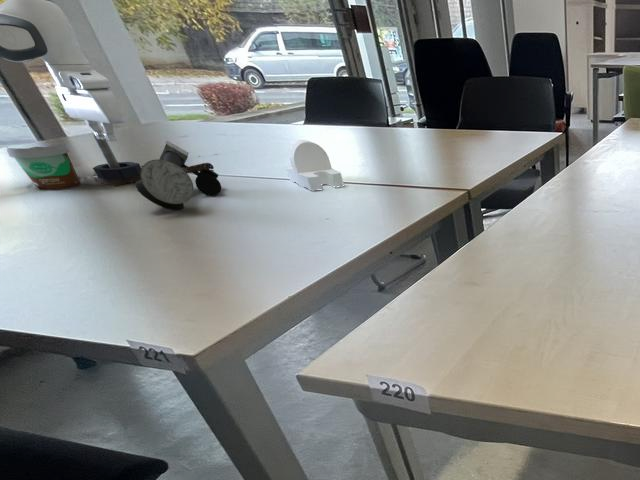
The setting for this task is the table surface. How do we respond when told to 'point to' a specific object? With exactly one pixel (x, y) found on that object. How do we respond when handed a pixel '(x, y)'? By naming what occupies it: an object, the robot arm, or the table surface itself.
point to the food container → (47, 166)
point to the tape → (118, 171)
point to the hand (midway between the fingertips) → (107, 140)
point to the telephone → (175, 179)
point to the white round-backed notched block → (311, 166)
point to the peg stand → (111, 164)
